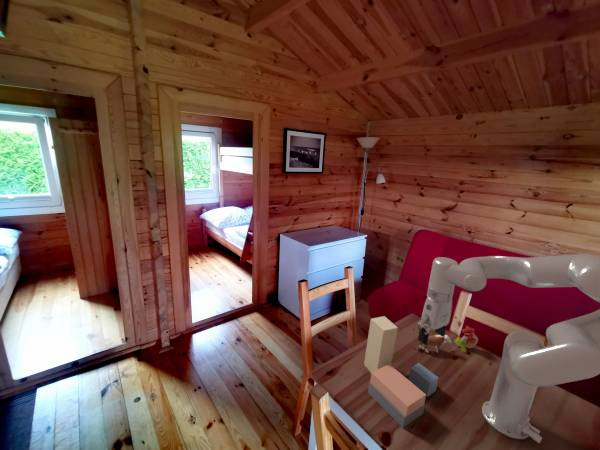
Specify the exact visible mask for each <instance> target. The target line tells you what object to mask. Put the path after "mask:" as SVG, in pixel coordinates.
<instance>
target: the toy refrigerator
mask: <svg viewBox="0 0 600 450" xmlns="http://www.w3.org/2000/svg"><path fill="white" fill-rule="evenodd" d="M398 331H399V329H398V326H396V325H395V323H393V322H392V321H391V320H390V319H388V318H387V317H386V316H385V315H383V316H379V317H378V316H377V317H373V318H370V322H369V329H368V337H367V343H366V349H365V354H364V355H365V356H364V363H363V365H364V366H365V368H366V369H367V370H368V372H369V373H370V374H371V373H372V372H374V371H376V370H378V369H380V368H382V367H384V366H386V365H388V364H390V365H391V366H392V364H393V363H392V362H393V358H394V351H395V347H396V341H397V335H398Z"/></svg>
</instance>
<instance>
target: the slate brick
mask: <svg viewBox="0 0 600 450" xmlns="http://www.w3.org/2000/svg"><path fill="white" fill-rule="evenodd" d="M407 379H408V380H409V381H410V382H412V383H413V384H414V385H415V386H416V387H418V388H419V389H420V390H421V391H422V392H423V393H425V394H426V397H427V398H428V397H429V396H431V395H433V394H434V393H436V391H437V386H438V382H439V376H437V375H436V374H434V373H433V372H432V371H430V370H429V369H428V368H426V367H425V366H424V365H422V364H421V363H420V362H418V363H416V364H415V365H413V366H411V367H410V368H409V375H408V378H407Z"/></svg>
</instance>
